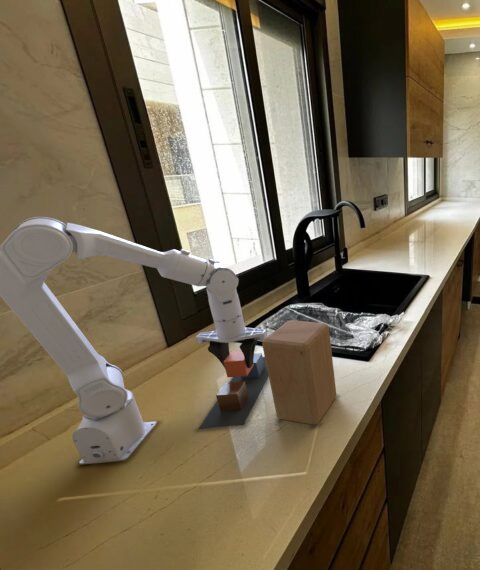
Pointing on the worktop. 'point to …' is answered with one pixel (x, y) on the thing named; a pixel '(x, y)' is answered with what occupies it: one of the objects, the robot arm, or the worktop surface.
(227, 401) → the walnut block
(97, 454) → the robot arm
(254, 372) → the slate-blue block
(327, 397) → the wooden block
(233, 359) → the terracotta block
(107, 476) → the worktop surface
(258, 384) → the line mat
